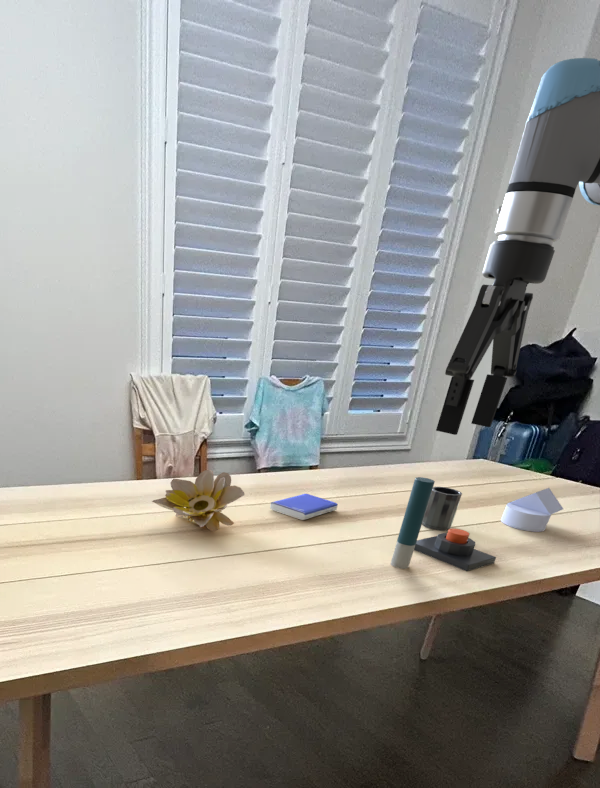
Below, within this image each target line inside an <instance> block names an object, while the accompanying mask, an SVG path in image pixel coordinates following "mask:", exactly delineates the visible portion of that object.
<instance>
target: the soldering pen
mask: <svg viewBox="0 0 600 788" xmlns="http://www.w3.org/2000/svg"><path fill="white" fill-rule="evenodd" d="M433 487H435V480H434V479H431V478H428V477H423V476H418V477H414V481H413V484H412V488H411V491H410V495H409V498H408V501H407V505H406V508H405V511H404V516H403V519H402V522H401V526H400V529H399V533H398V536H397V538H396V539H397V540H396V543H395V547H394V550H393V553H392V557H391V561H390V565H391V566H392V567H394V568H396V569H399V570H407V569H409V567H410V564H411V561H412V558H413V554H414V551H415V550H414V548H415V544H416V541H417V540H418V537H419V535H420V532H421V528H422V526H423V525H422V522H423V518H424V515H425V512H426V509H427V505H428V502H429V499H430V496H431V492H432V489H433Z"/></svg>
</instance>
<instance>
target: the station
mask: <svg viewBox="0 0 600 788" xmlns="http://www.w3.org/2000/svg"><path fill="white" fill-rule="evenodd" d="M447 533H448V532H442V533H438V534H437V535H434V536H430V537H426V538H422V539H421V538H420V539H417V541H416V544H415V548H414V551H415V552H418V553H421V554H423V555H426V556H429V557H430V558H433V559H435V560H437V561H440V562H443V563H445V564H448V565H450V566H452V567H454V568H458V569H460V570H463V571H465V572H468V571H473V570H476V569H480V568H483V567H486V566H489V565H493V564H495V562H496V559H497V556H494V555H492V554H489V553H486V552H484V551H481V550H478V549H475V548H476V540H475V541H474V540H473V539H472V538H470V537H468V540H467V543H466V544H460V543H455V542H451V541H449V540H447V539H446V536H447Z"/></svg>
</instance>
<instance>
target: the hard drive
mask: <svg viewBox="0 0 600 788" xmlns="http://www.w3.org/2000/svg"><path fill="white" fill-rule="evenodd" d="M269 509H270V510H271V511H273V512H277V513H280V514H282V515H284V516H285V515H286V516H288V517H291V518H294V519H298V520H300V521H305V520H309V519H311V518H315V517H318V516H321V515H324V514H327V513H331V512H334V511H337V509H338V503H337V502H336V501H335V502H334V501H332V500H329V499H325V498H322V497H319V496H316V495H313V494H309V493H302V494H298V495H295V496H291V497H287V498H283V499H279V500H273V501H272V502H270V505H269Z"/></svg>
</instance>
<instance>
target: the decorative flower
mask: <svg viewBox="0 0 600 788" xmlns="http://www.w3.org/2000/svg"><path fill="white" fill-rule="evenodd" d="M169 484H170V488H171V489H165V493H166V494H165V495H164V497H162V498H157V499H153V500H151V502H152V503H154V504H156V505H158V506H159V507H162V508H163V509H165V510H169V511H173V513H174V515H175V517H179V518H183V517H186V521H189V520H190V521H189V522H190V523H192V522H193V521H194V522H195V524H197V525H198V526H199V527H200V528H203V527H204V526H205V527H206V528H207V529H208V530H209V531H211V532H216V531H218V530H219V529H220V524H222V525H225V526H228V527H229V526H233V525H235V522H234V521H233V520H232V519H230V517H228V516H227V515H226V514H224V513H223V511H224V510H225V509H226V508H227V507H228V505H229V504H231V503H233V502H235V501H238V500H239V499H240V498H242V497H245V495H246V494H245V491H244V490H243V489H242V488H241V487H240V486H238V485H232V476H231V475H230V473H228V472H225V471H223V472H220V473H219V474H217V476H216V477H215V476H214V470H211V469H205V470H202V471H201V472H200V473H199V474H198V476H197V477H196V478H195V481H194V482H193V481H191V480H186V479H180V478H173V479H171V481H170V483H169Z"/></svg>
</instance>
